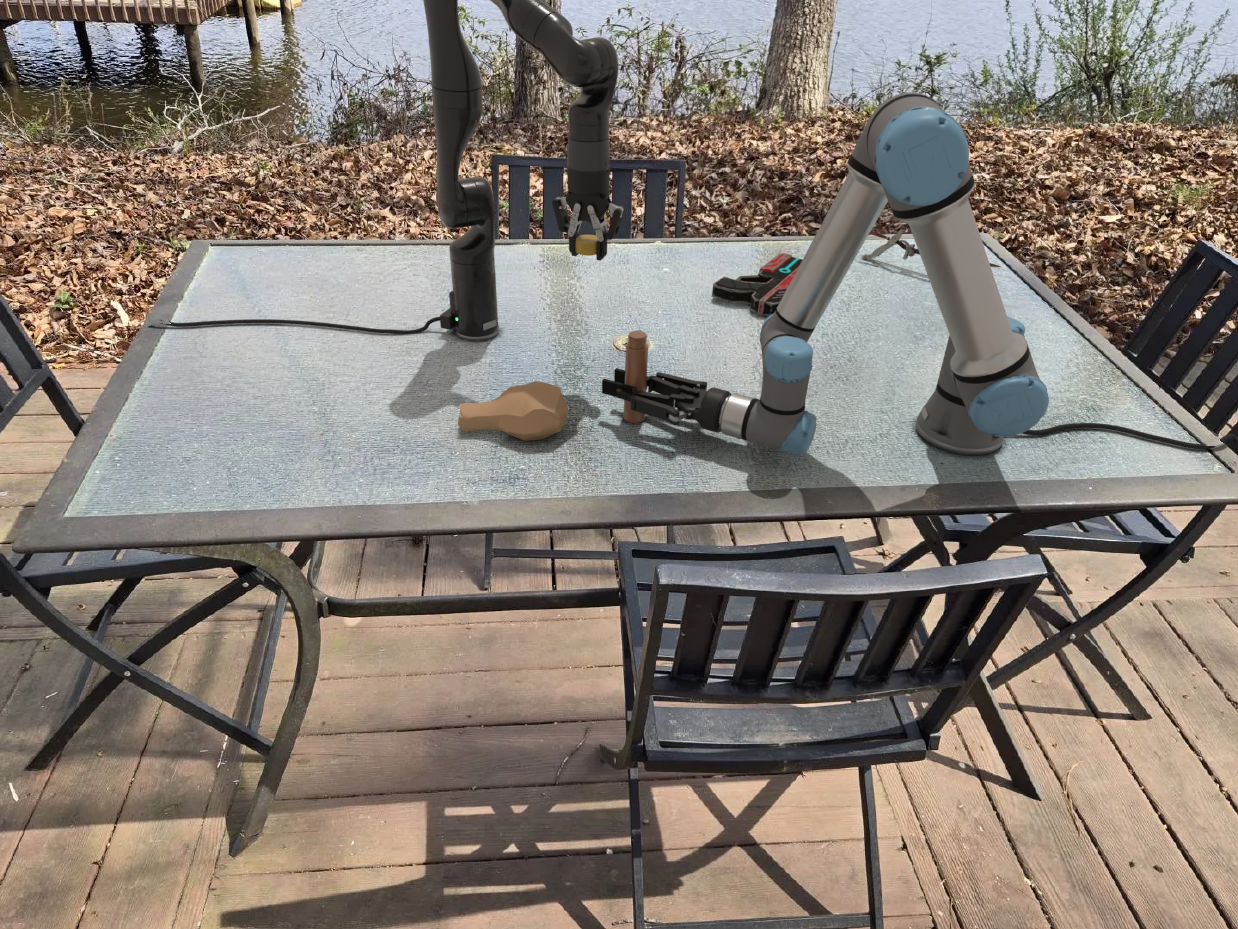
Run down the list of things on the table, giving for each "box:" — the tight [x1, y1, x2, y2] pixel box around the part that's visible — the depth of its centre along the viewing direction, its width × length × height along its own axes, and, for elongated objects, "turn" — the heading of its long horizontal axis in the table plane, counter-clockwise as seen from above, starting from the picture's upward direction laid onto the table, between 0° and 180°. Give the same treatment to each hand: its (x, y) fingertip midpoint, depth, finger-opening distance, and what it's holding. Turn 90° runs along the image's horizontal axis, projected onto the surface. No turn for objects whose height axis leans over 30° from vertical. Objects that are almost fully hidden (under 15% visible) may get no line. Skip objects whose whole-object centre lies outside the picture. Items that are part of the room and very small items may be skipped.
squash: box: [457, 380, 570, 442], centre depth 157 cm, size 11×20×9 cm, turn 90°
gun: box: [711, 252, 803, 317], centre depth 215 cm, size 4×31×19 cm
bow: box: [861, 228, 1002, 277], centre depth 225 cm, size 39×2×10 cm, turn 47°
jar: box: [623, 330, 649, 424], centre depth 159 cm, size 4×4×17 cm
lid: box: [575, 234, 598, 257], centre depth 163 cm, size 5×5×2 cm
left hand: (588, 256), depth 164 cm, fingers closed on lid, 4 cm apart
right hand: (609, 380), depth 162 cm, fingers closed on jar, 4 cm apart
